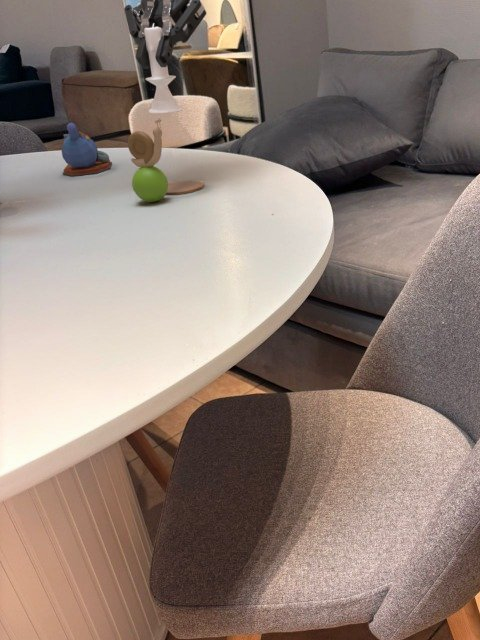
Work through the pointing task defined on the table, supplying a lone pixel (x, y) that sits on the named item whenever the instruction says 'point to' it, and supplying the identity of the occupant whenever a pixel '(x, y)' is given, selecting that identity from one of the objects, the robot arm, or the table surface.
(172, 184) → the coaster
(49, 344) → the table surface
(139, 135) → the snail figurine
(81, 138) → the model
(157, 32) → the candle
